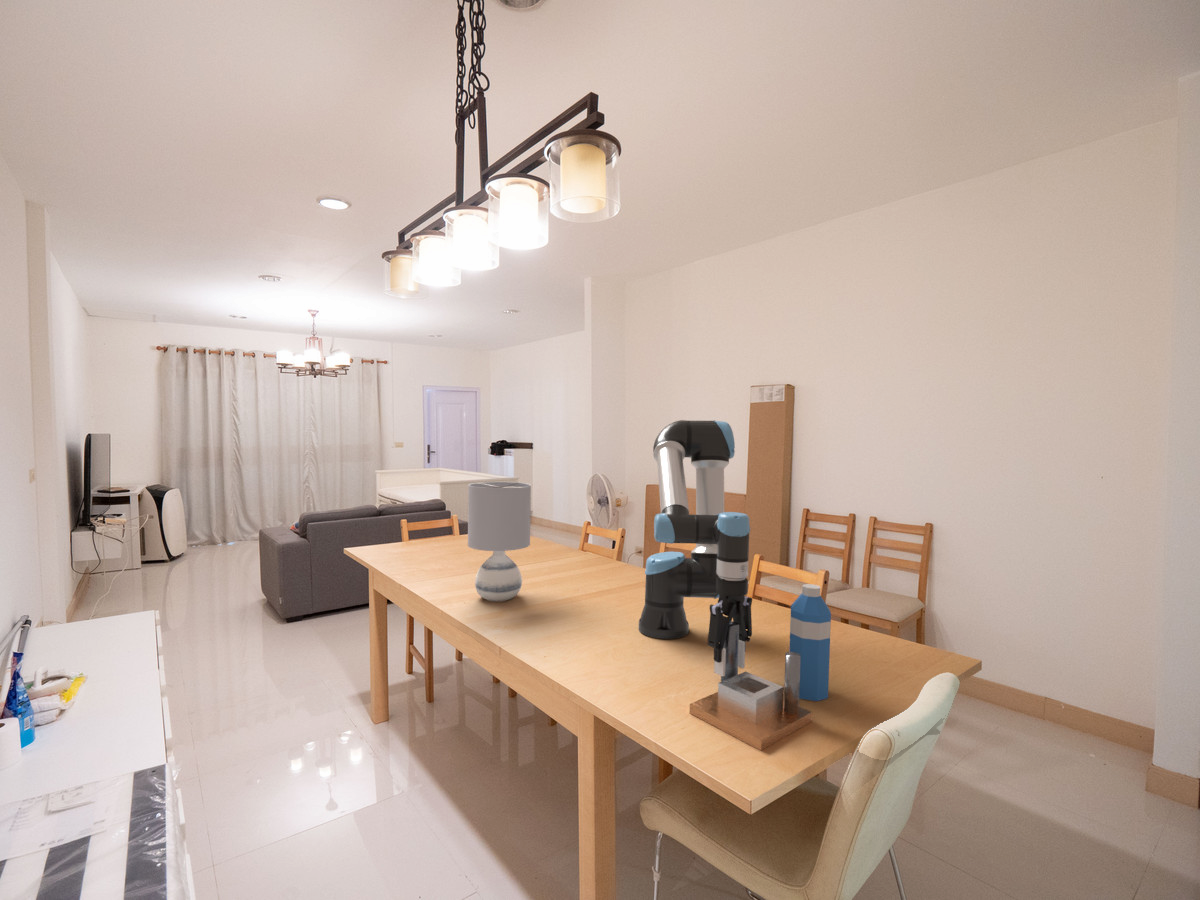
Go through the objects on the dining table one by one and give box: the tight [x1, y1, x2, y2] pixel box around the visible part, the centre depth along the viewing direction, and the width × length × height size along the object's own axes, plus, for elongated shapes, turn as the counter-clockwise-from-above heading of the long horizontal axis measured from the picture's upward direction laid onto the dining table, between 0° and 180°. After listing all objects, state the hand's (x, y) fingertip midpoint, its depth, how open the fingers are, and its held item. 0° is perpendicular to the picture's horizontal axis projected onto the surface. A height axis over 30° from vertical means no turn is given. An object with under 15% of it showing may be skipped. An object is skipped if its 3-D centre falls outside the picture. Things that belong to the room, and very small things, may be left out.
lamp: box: [467, 481, 532, 603], centre depth 202 cm, size 22×22×40 cm
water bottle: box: [788, 583, 832, 702], centre depth 133 cm, size 9×9×25 cm
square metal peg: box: [720, 620, 739, 682], centre depth 139 cm, size 4×4×14 cm
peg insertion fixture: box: [688, 651, 813, 751], centre depth 121 cm, size 18×18×14 cm
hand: (729, 670), depth 139 cm, fingers open, 7 cm apart
